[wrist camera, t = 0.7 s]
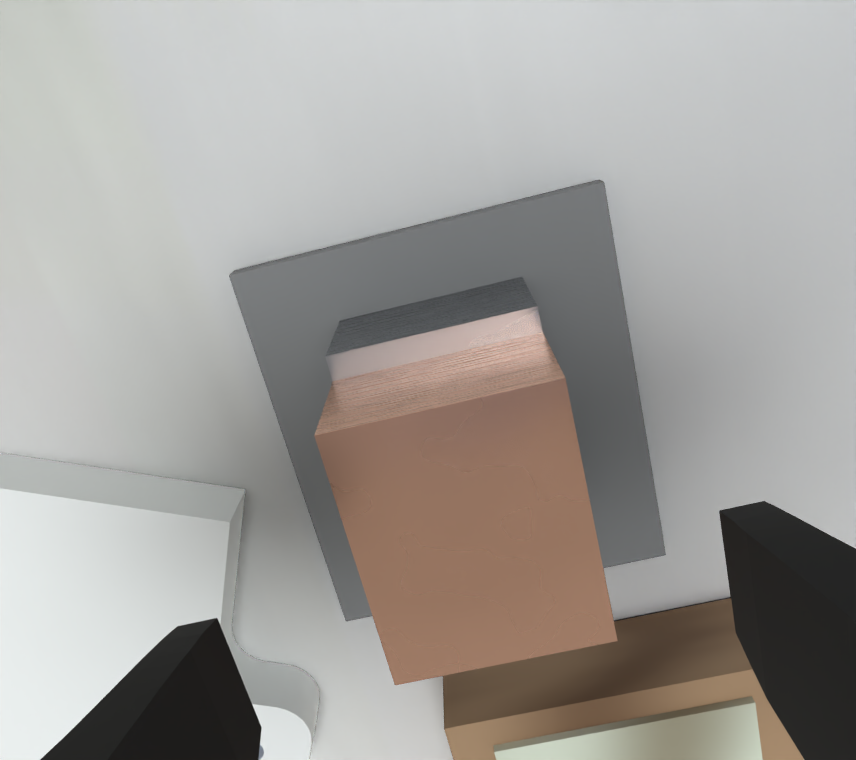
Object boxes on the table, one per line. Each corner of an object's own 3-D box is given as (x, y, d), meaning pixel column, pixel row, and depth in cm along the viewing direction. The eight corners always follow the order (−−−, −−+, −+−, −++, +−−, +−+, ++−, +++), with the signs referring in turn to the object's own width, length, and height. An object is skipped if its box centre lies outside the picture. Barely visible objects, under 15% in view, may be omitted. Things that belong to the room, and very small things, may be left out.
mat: (598, 180, 16) (603, 181, 16) (660, 543, 19) (666, 555, 19) (234, 270, 17) (228, 275, 16) (348, 608, 20) (346, 621, 19)
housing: (521, 276, 16) (559, 348, 12) (573, 519, 18) (622, 663, 14) (339, 320, 17) (305, 406, 12) (408, 554, 19) (401, 707, 14)
